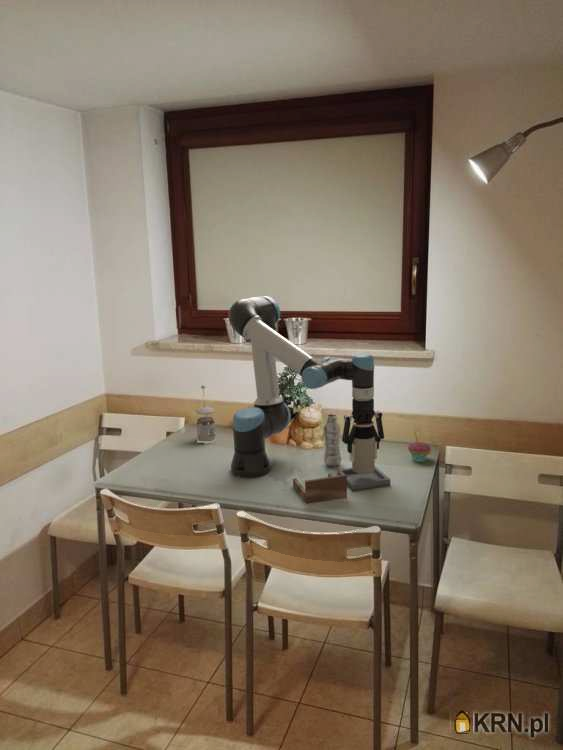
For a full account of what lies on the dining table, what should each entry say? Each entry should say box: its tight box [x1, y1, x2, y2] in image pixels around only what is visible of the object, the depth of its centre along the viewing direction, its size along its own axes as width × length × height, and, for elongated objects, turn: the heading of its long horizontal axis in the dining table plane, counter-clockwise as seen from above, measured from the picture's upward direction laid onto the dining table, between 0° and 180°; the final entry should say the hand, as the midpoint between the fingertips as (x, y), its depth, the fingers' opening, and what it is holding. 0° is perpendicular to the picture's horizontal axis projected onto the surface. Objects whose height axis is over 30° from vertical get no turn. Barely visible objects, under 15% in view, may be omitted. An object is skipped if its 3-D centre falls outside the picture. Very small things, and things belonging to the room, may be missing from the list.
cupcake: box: [407, 431, 432, 463], centre depth 238 cm, size 9×8×12 cm
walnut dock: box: [292, 473, 348, 505], centre depth 212 cm, size 15×14×8 cm
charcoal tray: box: [336, 466, 391, 492], centre depth 221 cm, size 14×14×2 cm
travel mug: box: [351, 420, 376, 474], centre depth 218 cm, size 8×8×18 cm
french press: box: [195, 384, 216, 441], centre depth 267 cm, size 10×12×25 cm
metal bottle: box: [322, 413, 342, 467], centre depth 235 cm, size 6×7×20 cm
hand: (363, 459), depth 220 cm, fingers closed on travel mug, 8 cm apart
